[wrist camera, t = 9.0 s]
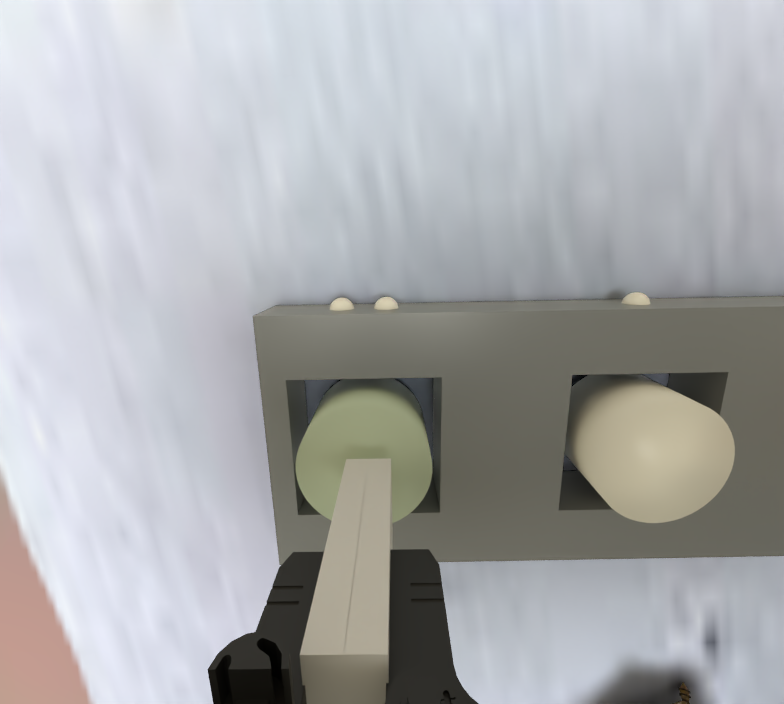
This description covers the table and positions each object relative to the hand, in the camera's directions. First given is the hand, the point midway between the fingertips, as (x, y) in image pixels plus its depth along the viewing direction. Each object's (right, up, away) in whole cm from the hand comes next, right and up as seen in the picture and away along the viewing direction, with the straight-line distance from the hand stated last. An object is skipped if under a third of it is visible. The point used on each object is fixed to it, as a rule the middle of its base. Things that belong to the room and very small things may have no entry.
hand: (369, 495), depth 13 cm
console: (+11, +2, +5) cm, 12 cm away
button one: (+11, +2, +5) cm, 12 cm away
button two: (0, +2, +5) cm, 5 cm away
